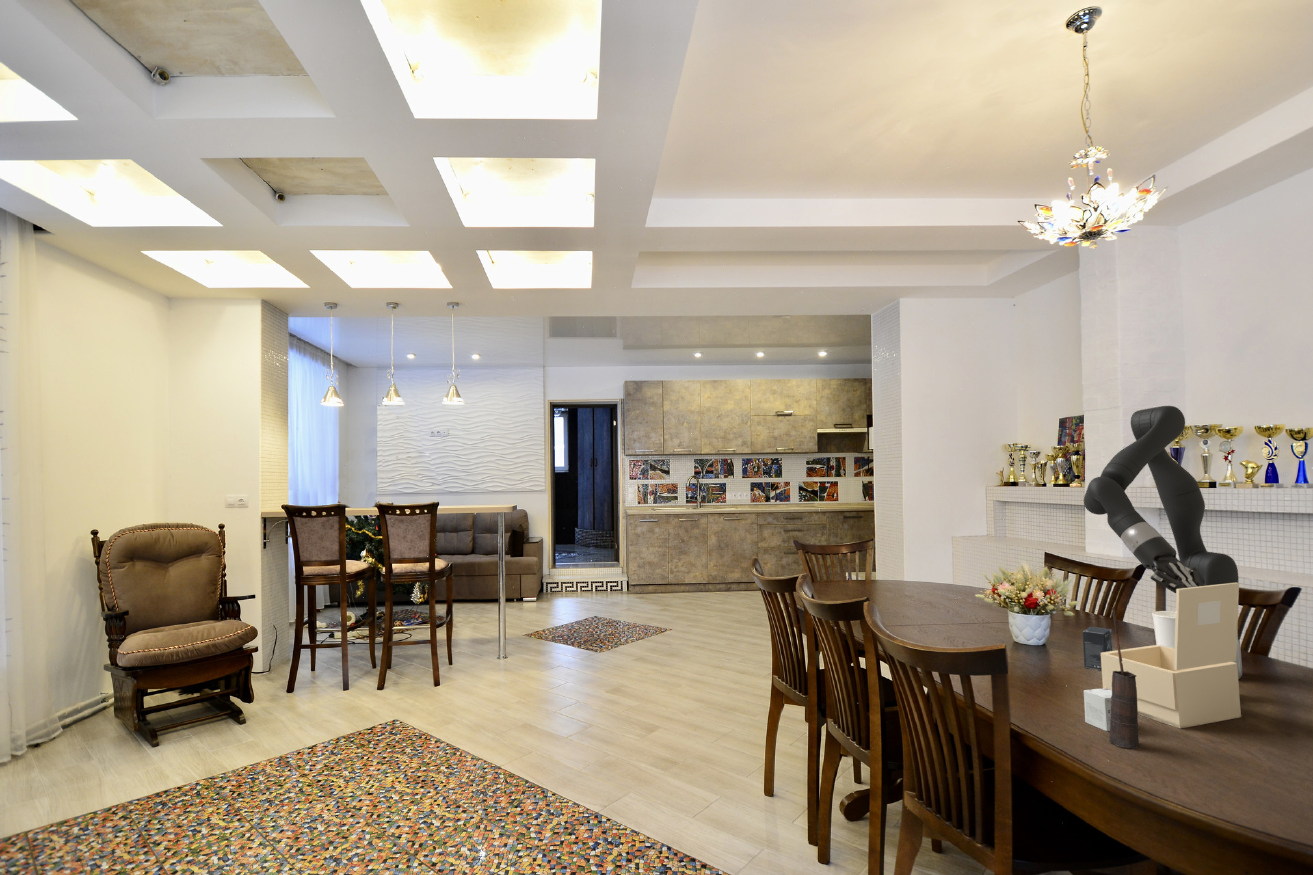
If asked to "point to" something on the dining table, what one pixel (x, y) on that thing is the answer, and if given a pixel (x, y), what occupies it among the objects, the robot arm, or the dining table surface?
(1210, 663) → the top flap
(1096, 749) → the dining table surface
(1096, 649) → the box
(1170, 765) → the dining table surface
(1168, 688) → the carton
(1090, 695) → the skincare box
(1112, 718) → the butter churn
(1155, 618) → the candle holder
